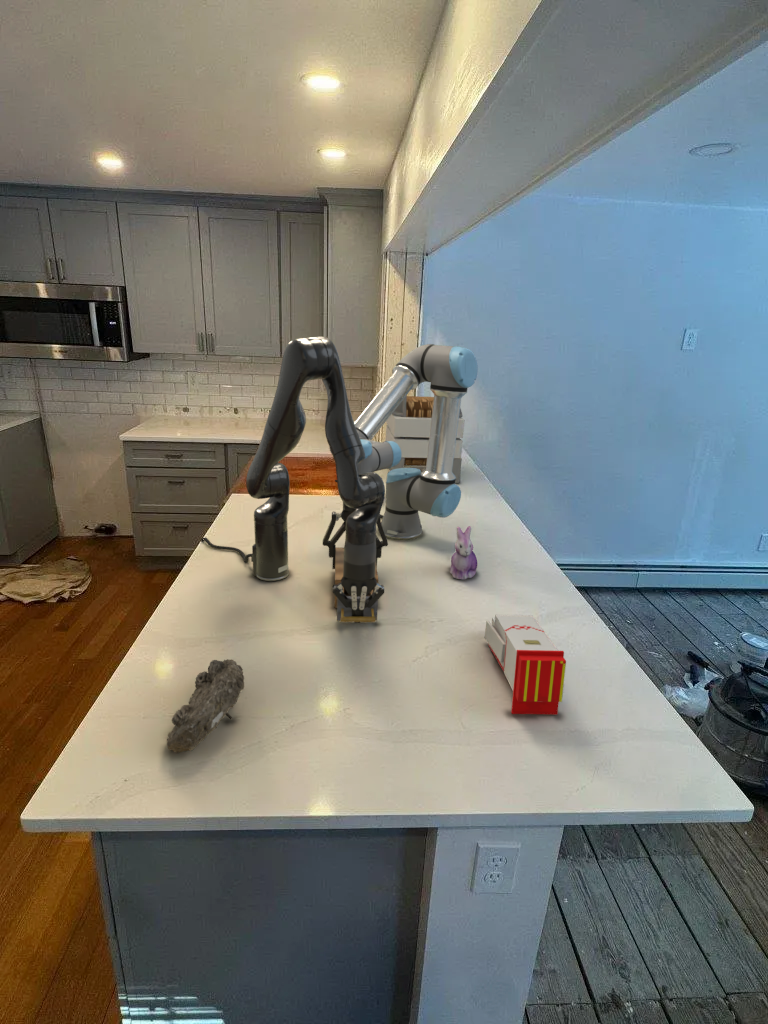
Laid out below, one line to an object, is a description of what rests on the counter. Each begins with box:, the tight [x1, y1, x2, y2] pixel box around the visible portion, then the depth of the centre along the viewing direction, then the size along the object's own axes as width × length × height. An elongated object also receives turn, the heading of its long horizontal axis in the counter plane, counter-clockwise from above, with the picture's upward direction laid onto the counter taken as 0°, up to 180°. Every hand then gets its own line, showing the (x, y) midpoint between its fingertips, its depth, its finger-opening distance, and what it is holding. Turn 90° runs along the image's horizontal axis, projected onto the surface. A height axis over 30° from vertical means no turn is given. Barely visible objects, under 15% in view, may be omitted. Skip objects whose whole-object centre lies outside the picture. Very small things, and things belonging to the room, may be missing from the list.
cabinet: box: [334, 546, 379, 609], centre depth 158 cm, size 21×11×8 cm, turn 4°
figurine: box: [449, 525, 479, 580], centre depth 169 cm, size 9×10×15 cm
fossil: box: [166, 658, 245, 754], centre depth 106 cm, size 22×10×15 cm
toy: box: [484, 614, 567, 716], centre depth 124 cm, size 12×13×30 cm
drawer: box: [336, 588, 379, 623], centre depth 147 cm, size 25×10×6 cm, turn 4°
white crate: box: [384, 394, 465, 484], centre depth 268 cm, size 34×33×41 cm
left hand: (357, 621), depth 138 cm, fingers closed
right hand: (354, 567), depth 165 cm, fingers closed on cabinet, 11 cm apart
